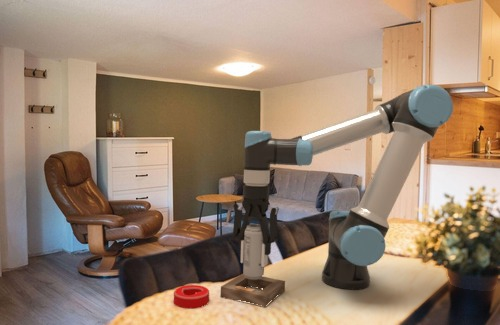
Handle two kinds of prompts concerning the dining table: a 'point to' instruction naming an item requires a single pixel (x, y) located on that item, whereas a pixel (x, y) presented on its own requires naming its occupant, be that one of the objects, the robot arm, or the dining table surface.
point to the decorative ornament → (191, 296)
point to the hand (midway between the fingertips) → (253, 263)
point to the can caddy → (263, 297)
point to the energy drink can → (253, 252)
